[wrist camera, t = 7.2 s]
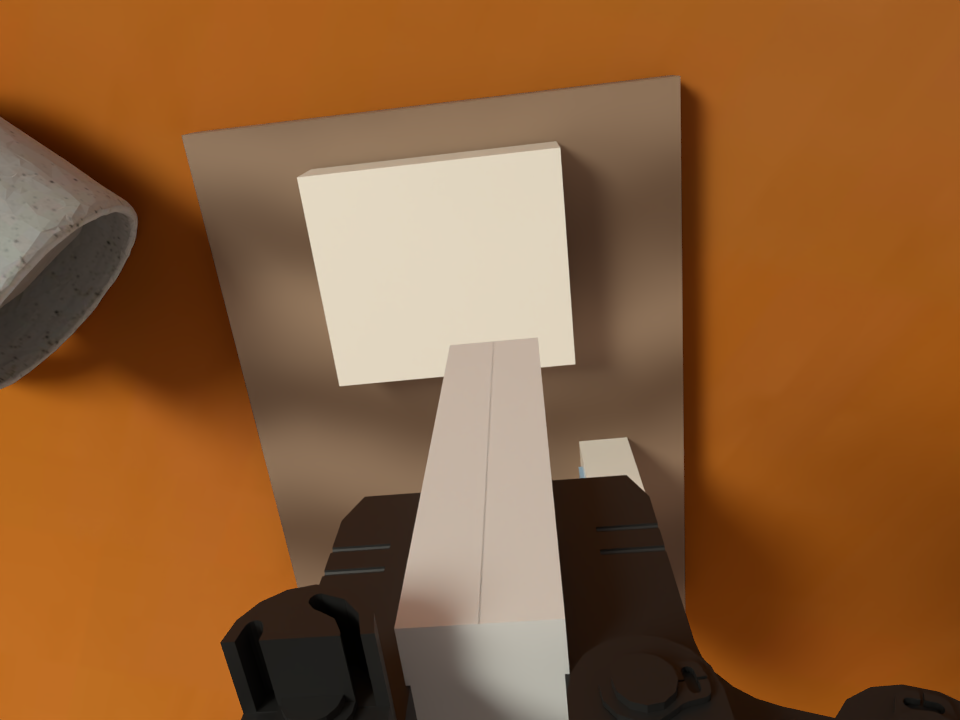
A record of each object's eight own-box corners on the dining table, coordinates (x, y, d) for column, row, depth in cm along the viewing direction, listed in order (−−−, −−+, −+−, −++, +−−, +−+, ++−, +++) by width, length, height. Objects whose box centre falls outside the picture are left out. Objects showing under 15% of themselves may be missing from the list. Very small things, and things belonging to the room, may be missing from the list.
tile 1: (555, 140, 23) (312, 168, 24) (560, 147, 22) (296, 177, 22) (570, 343, 26) (350, 364, 27) (575, 364, 24) (339, 386, 25)
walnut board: (195, 131, 25) (181, 135, 24) (671, 75, 24) (680, 76, 23) (317, 618, 33) (311, 637, 32) (678, 592, 32) (685, 611, 30)
